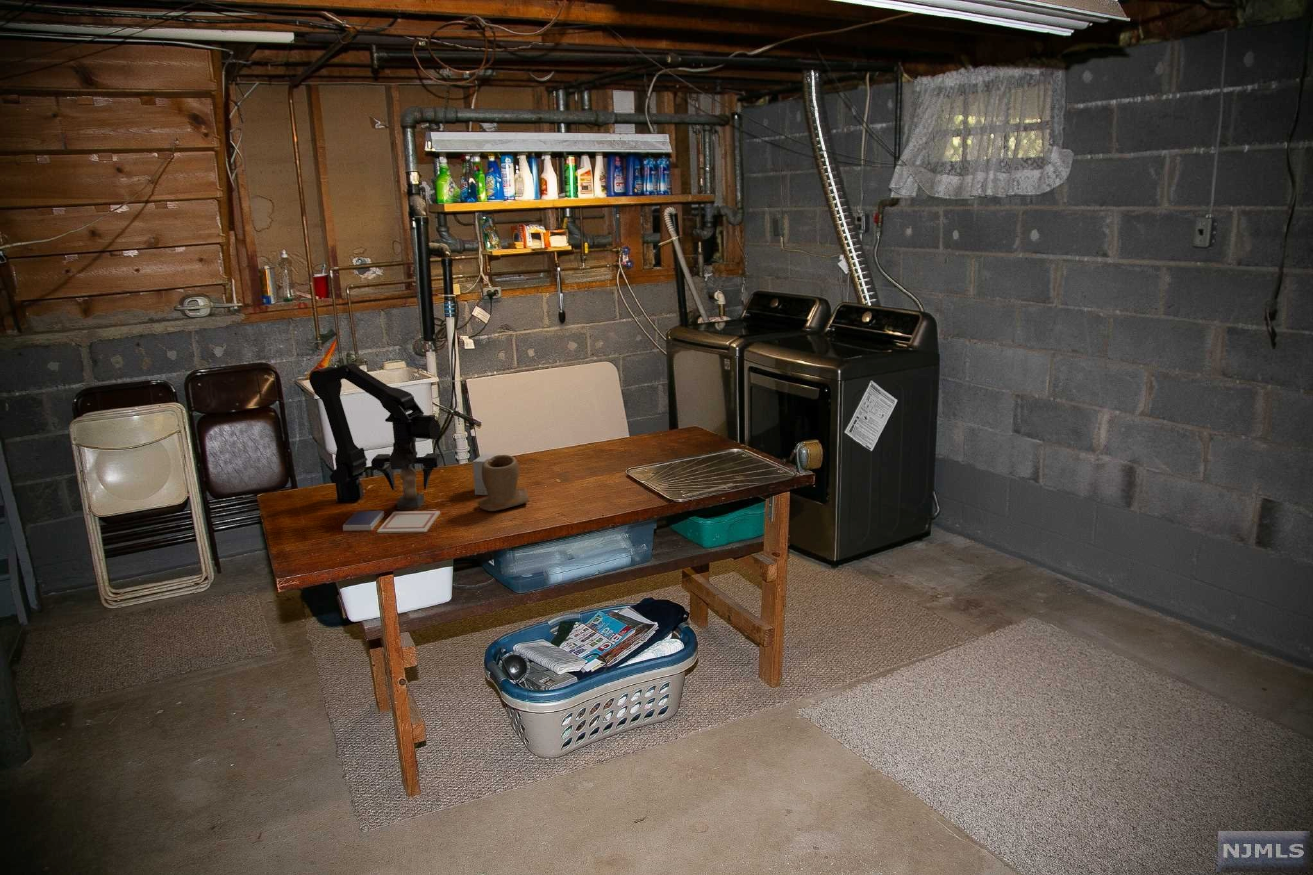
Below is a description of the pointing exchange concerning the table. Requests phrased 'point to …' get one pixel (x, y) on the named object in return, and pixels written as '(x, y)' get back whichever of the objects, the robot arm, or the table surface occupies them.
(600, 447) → the table surface
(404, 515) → the board
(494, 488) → the stone cup
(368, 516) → the ink pad
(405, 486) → the stamp
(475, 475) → the small box
